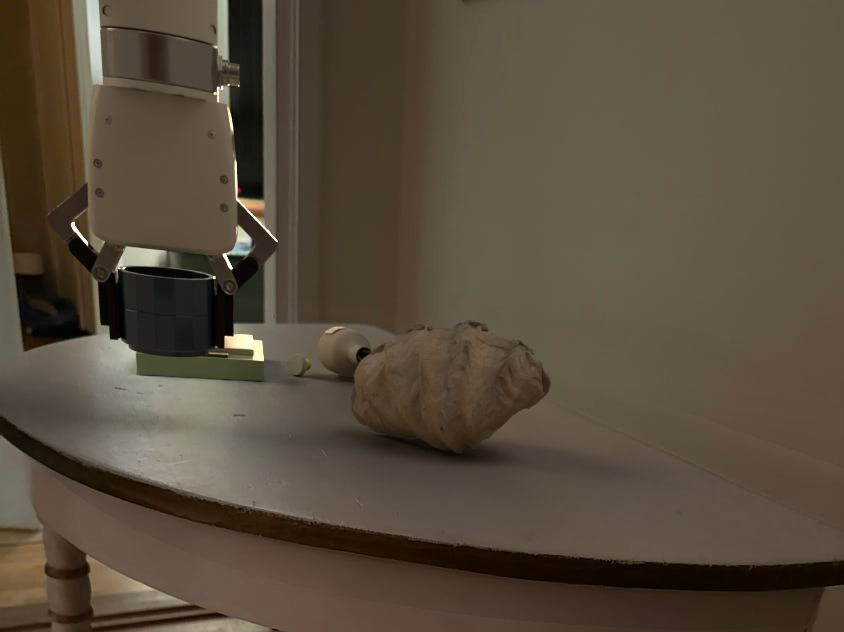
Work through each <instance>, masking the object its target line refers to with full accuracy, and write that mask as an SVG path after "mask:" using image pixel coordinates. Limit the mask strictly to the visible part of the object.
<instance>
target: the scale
mask: <svg viewBox="0 0 844 632" xmlns="http://www.w3.org/2000/svg"><path fill="white" fill-rule="evenodd" d="M253 337H254V336H253V334H243V333H234V337H231V336H225V346H224V349H219V348H217V347H216V346H215V348H214V349H211V350H209V354H207V355H205V356H200V357H188V358H178V357H162V356H154V355H148V354H143V353H139V352H136V351H135V363H136V364H135V365H136V374H137V375H138V376H139V375H140V376H158V377H177V378H193V379H194V378H197V379H214V380H215V379H216V380H217V379H218V380H231V381H232V380H235V381H249V382H250V381H251V382H252V381H253V382H265V357H264V347H263V341H262V340H261V339H260V340H259V339H253Z"/></svg>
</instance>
